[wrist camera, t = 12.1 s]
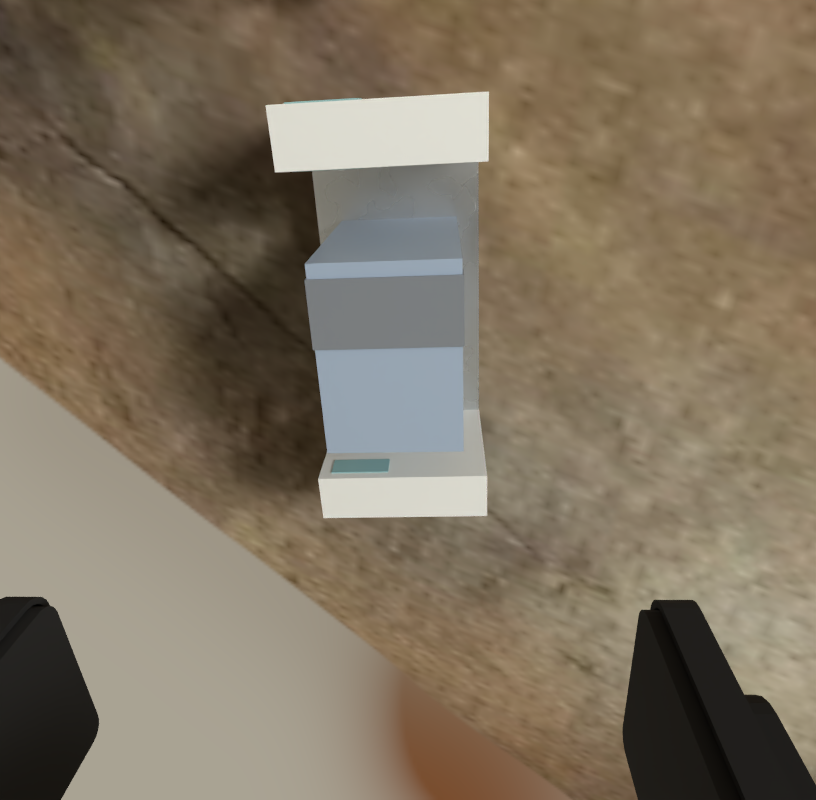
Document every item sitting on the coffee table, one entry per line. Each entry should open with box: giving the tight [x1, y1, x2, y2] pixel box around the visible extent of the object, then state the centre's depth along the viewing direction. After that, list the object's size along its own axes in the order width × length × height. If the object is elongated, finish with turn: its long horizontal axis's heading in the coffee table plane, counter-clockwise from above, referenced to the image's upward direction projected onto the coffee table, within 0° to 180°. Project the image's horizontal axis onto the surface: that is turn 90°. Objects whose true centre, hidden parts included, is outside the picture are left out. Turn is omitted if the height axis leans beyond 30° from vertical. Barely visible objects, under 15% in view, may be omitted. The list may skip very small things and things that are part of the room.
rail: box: [312, 162, 479, 410], centre depth 28 cm, size 16×7×2 cm, turn 3°
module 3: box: [318, 410, 487, 518], centre depth 28 cm, size 2×7×6 cm, turn 93°
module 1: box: [266, 92, 489, 172], centre depth 22 cm, size 2×7×6 cm, turn 93°
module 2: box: [304, 216, 465, 453], centre depth 24 cm, size 7×5×8 cm
